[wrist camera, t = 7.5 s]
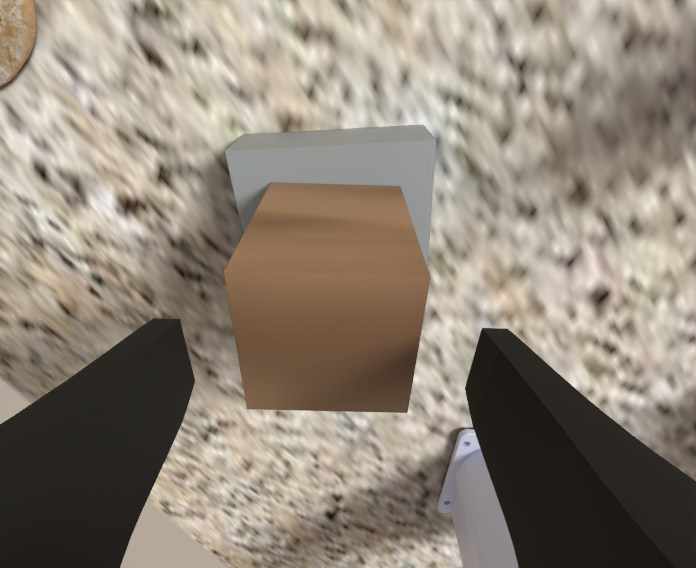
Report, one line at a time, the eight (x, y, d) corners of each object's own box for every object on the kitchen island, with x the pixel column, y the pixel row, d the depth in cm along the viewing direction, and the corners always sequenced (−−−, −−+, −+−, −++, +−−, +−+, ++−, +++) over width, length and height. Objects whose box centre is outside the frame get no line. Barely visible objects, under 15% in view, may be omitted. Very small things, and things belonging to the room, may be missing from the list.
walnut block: (389, 292, 16) (407, 412, 11) (279, 289, 16) (247, 408, 11) (400, 186, 13) (430, 277, 8) (271, 182, 13) (223, 271, 8)
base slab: (414, 274, 19) (424, 311, 16) (272, 280, 19) (261, 317, 17) (421, 122, 15) (436, 139, 13) (245, 132, 15) (224, 151, 13)
